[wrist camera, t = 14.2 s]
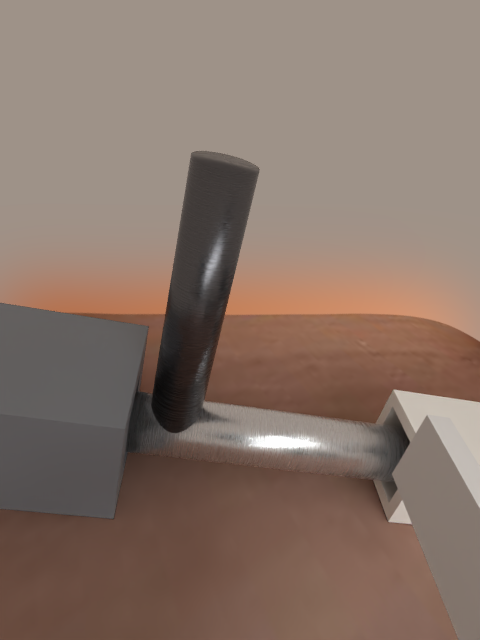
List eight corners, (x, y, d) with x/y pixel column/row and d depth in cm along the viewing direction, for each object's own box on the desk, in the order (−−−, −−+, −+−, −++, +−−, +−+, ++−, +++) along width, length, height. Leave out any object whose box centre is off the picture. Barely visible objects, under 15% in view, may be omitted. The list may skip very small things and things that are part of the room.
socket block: (137, 406, 32) (148, 326, 29) (113, 518, 25) (124, 428, 21) (-10, 387, 31) (-17, 300, 27) (-84, 501, 23) (-107, 400, 19)
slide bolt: (435, 458, 33) (582, 233, 24) (457, 501, 30) (636, 261, 21) (70, 413, 29) (81, 120, 20) (53, 457, 26) (56, 134, 17)
